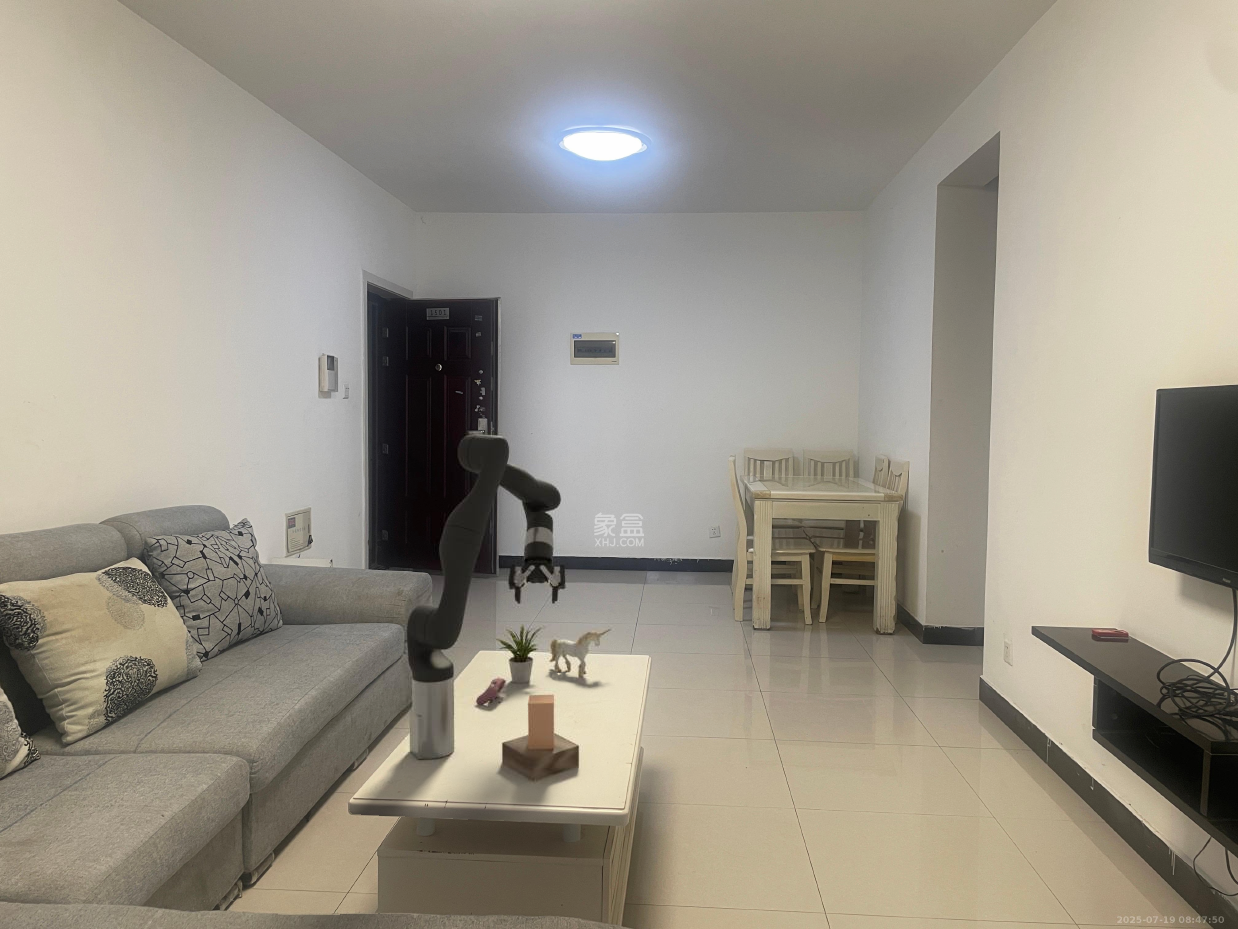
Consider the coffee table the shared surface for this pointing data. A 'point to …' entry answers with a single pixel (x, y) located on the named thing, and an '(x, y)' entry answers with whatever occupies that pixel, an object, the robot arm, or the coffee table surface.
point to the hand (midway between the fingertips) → (536, 602)
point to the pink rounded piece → (491, 691)
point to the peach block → (541, 722)
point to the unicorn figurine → (574, 649)
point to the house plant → (520, 655)
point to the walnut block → (540, 757)
